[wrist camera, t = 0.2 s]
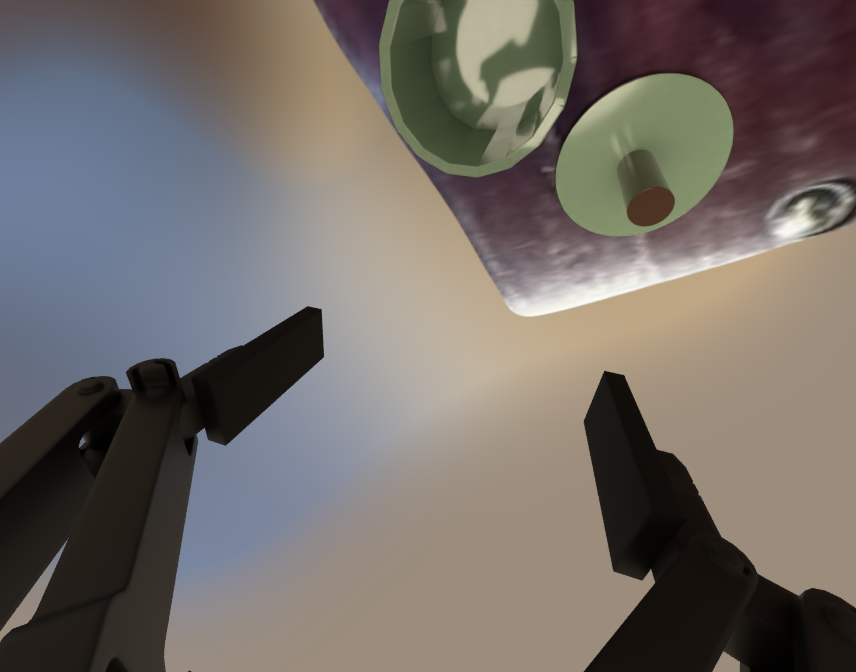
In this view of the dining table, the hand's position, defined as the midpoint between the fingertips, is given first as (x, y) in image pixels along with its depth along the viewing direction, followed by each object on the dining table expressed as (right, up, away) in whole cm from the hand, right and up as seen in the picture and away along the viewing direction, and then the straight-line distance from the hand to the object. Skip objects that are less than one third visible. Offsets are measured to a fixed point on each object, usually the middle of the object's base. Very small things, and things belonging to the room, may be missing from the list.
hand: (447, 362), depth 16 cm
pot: (+5, +25, +13) cm, 29 cm away
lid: (+18, +17, +15) cm, 29 cm away
